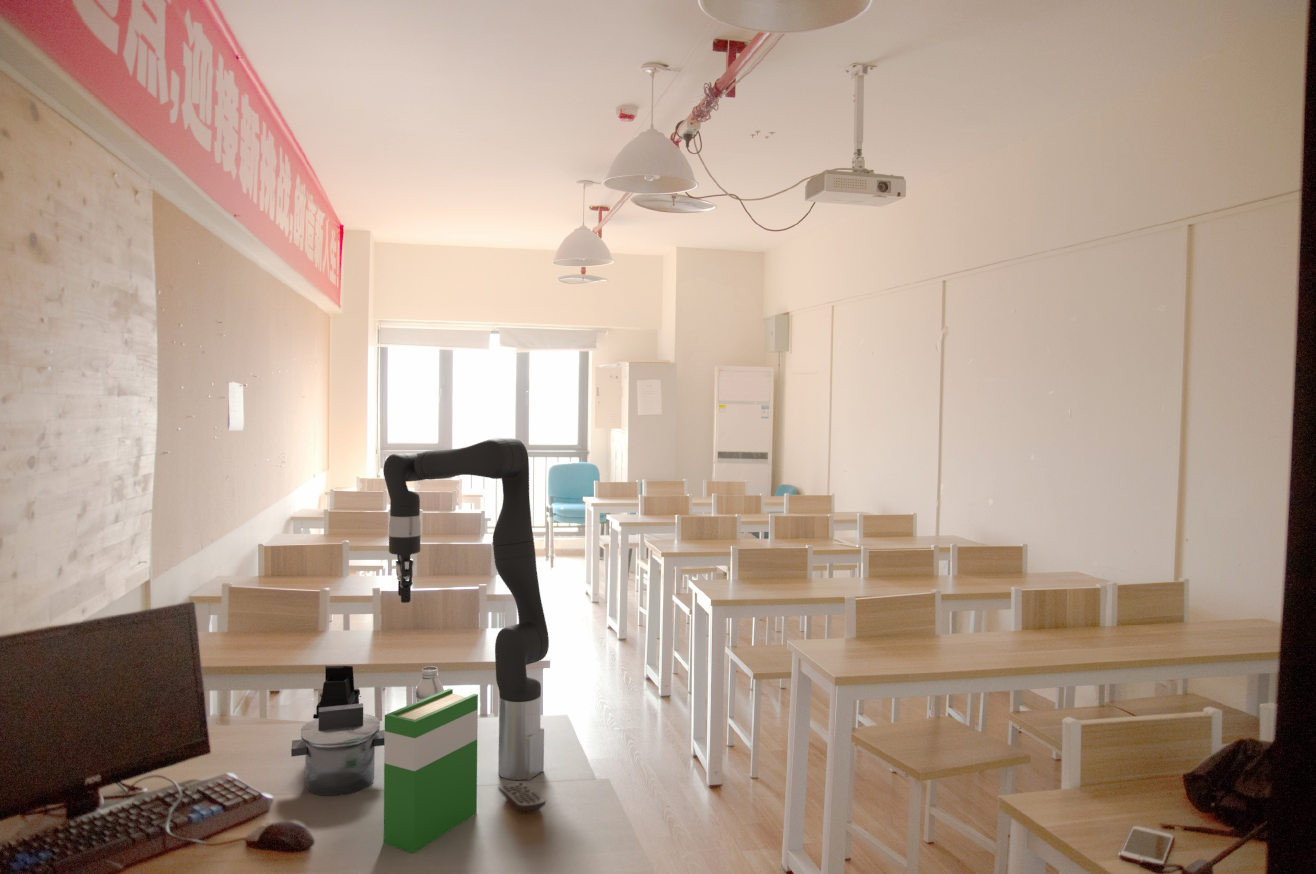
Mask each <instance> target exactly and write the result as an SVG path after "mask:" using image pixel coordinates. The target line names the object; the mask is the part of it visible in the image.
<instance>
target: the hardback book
mask: <svg viewBox="0 0 1316 874" xmlns="http://www.w3.org/2000/svg"><path fill="white" fill-rule="evenodd" d="M453 690H454V689H452V688H448V689H444V691H442V692H440V693H437V694H435V695H432V696H430V697H427V698H425V699H423V700H420V701H418V702H413V703H409V704H408V705H406V706H404V707H401V708H398V709H396V710H394V711H391V712H389V713H387V714H384V730H385V738H384V746H383V747H384V748H383V749H384V751H383V753H384V754H383V756H384V758H383V761H384V762H383V844H385V845H387V846H391V847H394V848H396V849H400V850H403V851H406V852H410V853H412V854H415V853H417V852H418V851H420V850H422V849H423V848H424V847H426V846H428V845H429V844H431V843H432V842H433V841H436V840H437V839H438V838H440V837H442V836H443V835H445V834H446V833H448V832H449V831H451V830H453V829H455V828H456V827H457V826H460V825H461V824H462V823H464V822H465V821H467V820H468V819H470V818H472V817H473V816H474V815H476V814H477V812H478V810H477V808H478V805H477V804H478V803H477V802H478V798H477V797H478V796H477V795H478V723H479V722H478V721H479V720H478V719H479V718H478V716H479V715H478V713H479V712H478V711H479V709H478V707H479V704H478V703H479V695H478V694H477V693H473V694H472V693H471V695H468V696H464V695H460V694H454V693H453Z"/></svg>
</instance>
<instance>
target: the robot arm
mask: <svg viewBox="0 0 1316 874" xmlns="http://www.w3.org/2000/svg"><path fill="white" fill-rule="evenodd" d="M465 475H466V476H467V475H468V476H476V477H483V478H489V479H493V480H494V479H495V480H501V482H502V494H503V495H502V506H501V509H500V512H499V515H498V518H497V521H496V524H495V527H494V530H493V534H492V548H493V558H494V565H495V569H496V571H497V573H498V576H499V577H500V578H501V580H502V582H503V583H504V584H505V586H506V588H507V589H508V590H509V592H510V593H511V594H512V597H513V599H514V601H515V604H516V609H517V616H518V623H517V624H512V625H509V626H505V627H502V628H501V630H500V631H498V633H497V635H496V638H495V643H494V656H495V659H494V660H495V680H496V685H497V687H498V692H499V693H498V695H499V699H498V700H499V701H498V766H497V767H498V772H497V773H498V775H499V776H500V777H501V778H503V779H505V780H511V781H512V780H514V781H517V780H518V781H520V780H521V781H522V780H527V781H530V780H532V779H533V778H535V777H536V776H537V775H538V774H540V773H542V772H543V771H544V770H545V769H544V768H545V767H544V764H545V729H544V728H543V727H541V720H542V719H541V715H542V713H541V711H542V709H541V708H542V707H541V706H542V684H541V682H540V681H539V680H538V679H535V678H532V677H528V676H527V665H531V664H533V663H537V662H540V661H543V659H545V657H546V656H547V654H548V652H549V647H550V639H549V637H550V636H549V631H548V628H547V627H548V626H547V622H546V617H545V613H544V609H543V608H544V606H543V603H542V598H541V592H540V583H539V578H538V569H537V558H536V557H537V556H536V548H535V546H536V545H535V541H534V540H535V538H534V532H533V525H532V524H533V523H532V513H531V502H530V499H531V498H530V462H529V453H528V450H527V447H526V446H525V444H524V443H523V442H522V441H521V440H520V439H517V438H513V437H512V438H503V437H502V438H501V437H500V438H499V437H497V438H496V437H495V438H490V439H486V440H482V441H480V442H477V443H475V444H472V445H469V446H468V445H467V446H465V447H464V446H463V447H459V448H442V449H435V450H427V451H423V452H408V453H406V452H405V453H391V455H389V456H387V457H386V460H385V461H384V463H383V477H384V478H383V479H384V481H385V484H386V488H387V492H388V495H389V500H390V502H389V504H390V506H389V509H390V511H389V512H390V514H389V523H388V552H389V553H390V554H392V555H395V556H396V558H397V559H395V569H396V570H395V572H396V576H397V578H396V579H397V582H398V584H397V585H398V586H397V588H398V589H397V593H398V596H400V602H401V603H402V604H403V603H405V604H406V603H407V604H408V603H410V602H411V601H412V600H411V590H412V589H411V587H412V586H413V578H414V577H413V576H414V560H413V558H411V555H414V554H415V555H416V554H419V553H420V552H421V531H422V530H421V516H420V513H421V511H420V510H421V508H420V507H421V505H420V503H421V502H420V501H421V500H420V499H421V498H420V495H419V493H417V492H416V491H412V490H409V488H408V485H407V482H419V481H426V480H431V481H432V480H441V479H450V478H455V477H458V476H465Z"/></svg>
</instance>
